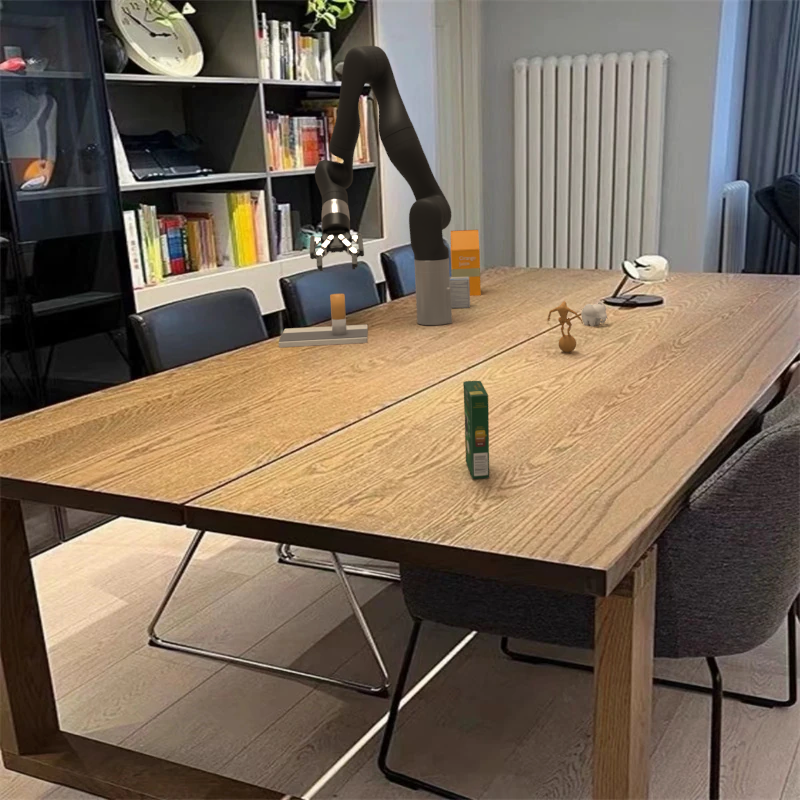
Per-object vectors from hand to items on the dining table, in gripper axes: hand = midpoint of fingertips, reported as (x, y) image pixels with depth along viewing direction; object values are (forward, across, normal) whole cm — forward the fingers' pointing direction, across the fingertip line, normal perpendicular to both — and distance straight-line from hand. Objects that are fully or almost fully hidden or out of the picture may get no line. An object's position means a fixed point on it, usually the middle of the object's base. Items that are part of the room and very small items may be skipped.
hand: (337, 268), depth 252 cm
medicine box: (-7, +33, +31) cm, 46 cm away
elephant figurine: (+20, +65, +5) cm, 68 cm away
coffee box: (+94, +23, -70) cm, 119 cm away
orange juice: (-23, +38, +47) cm, 65 cm away
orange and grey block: (+19, 0, +3) cm, 19 cm away
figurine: (+41, +52, -17) cm, 68 cm away
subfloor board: (+18, -4, +6) cm, 19 cm away
